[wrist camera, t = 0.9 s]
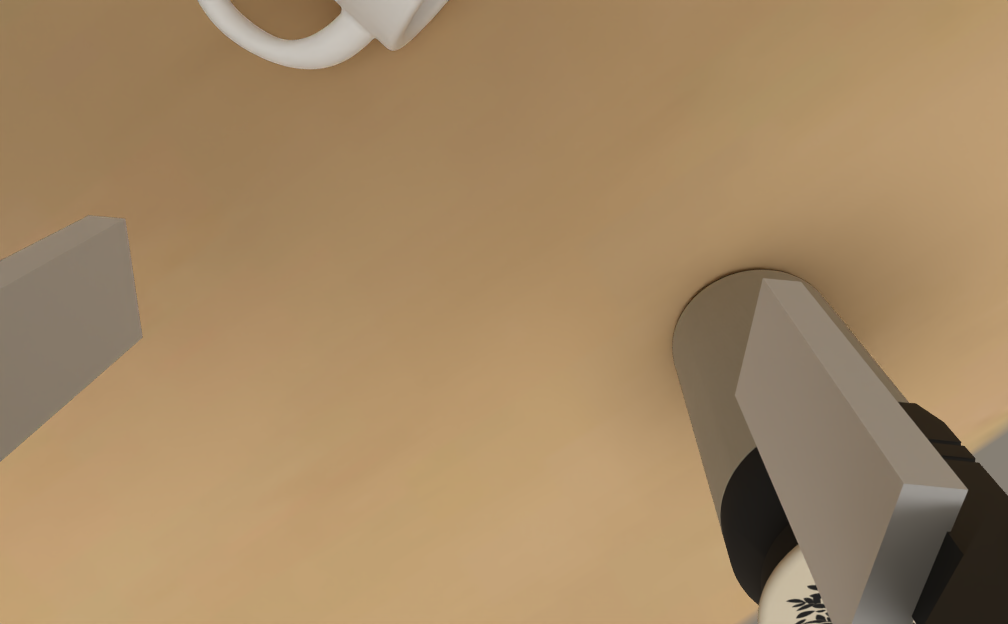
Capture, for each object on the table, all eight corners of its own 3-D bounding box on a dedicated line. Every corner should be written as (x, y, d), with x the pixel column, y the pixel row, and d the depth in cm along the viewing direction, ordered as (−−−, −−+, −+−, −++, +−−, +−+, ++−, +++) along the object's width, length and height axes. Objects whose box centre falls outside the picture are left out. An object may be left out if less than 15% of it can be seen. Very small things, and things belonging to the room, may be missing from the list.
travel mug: (655, 290, 37) (728, 540, 20) (821, 248, 35) (1044, 482, 19) (689, 422, 40) (776, 734, 23) (843, 389, 38) (1052, 697, 22)
